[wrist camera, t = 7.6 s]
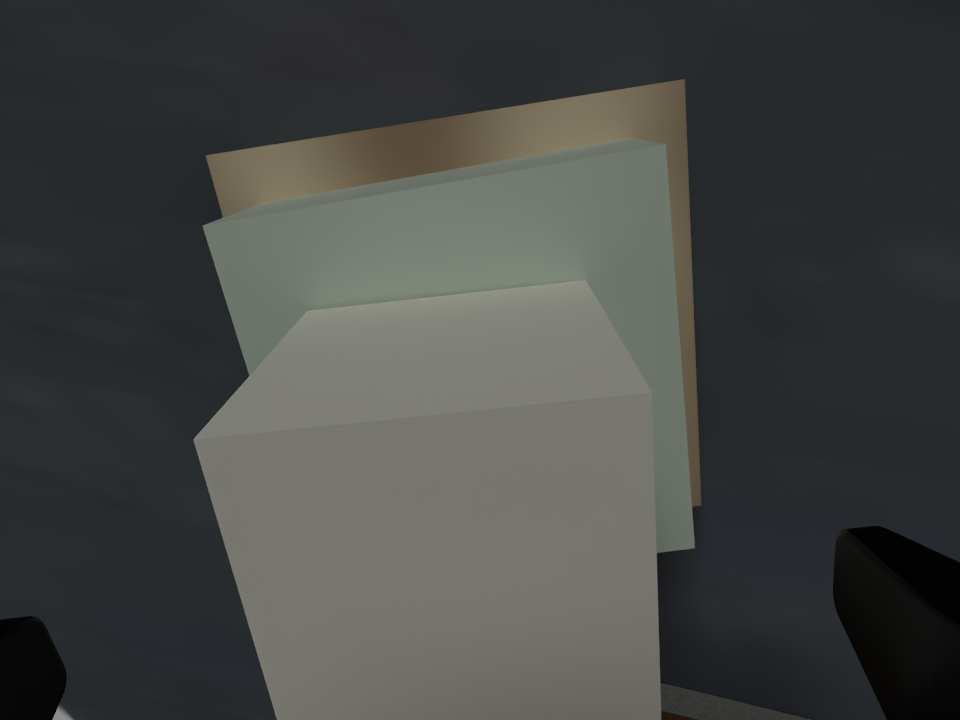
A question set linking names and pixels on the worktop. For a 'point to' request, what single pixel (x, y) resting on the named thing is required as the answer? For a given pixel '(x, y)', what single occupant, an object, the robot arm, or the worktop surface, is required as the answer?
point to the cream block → (446, 511)
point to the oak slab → (480, 142)
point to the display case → (711, 707)
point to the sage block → (483, 263)
